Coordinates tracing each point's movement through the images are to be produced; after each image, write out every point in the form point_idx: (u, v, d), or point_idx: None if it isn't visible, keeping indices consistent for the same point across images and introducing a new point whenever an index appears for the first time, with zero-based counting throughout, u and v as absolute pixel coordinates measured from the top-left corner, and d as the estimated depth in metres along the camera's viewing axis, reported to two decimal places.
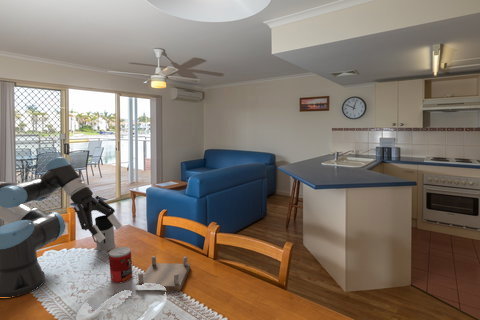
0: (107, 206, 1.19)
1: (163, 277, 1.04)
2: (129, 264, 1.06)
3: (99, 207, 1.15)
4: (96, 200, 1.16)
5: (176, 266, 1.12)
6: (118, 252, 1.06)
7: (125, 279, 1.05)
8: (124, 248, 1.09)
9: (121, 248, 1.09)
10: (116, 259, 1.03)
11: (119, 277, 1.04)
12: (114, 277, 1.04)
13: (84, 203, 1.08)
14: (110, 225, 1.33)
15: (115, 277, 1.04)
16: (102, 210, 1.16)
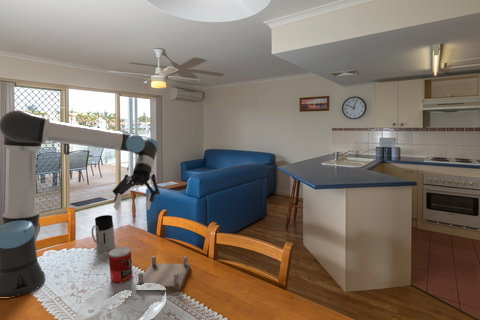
0: None
1: (163, 277, 1.04)
2: (129, 264, 1.06)
3: (132, 185, 1.24)
4: (129, 179, 1.26)
5: (176, 266, 1.12)
6: (118, 252, 1.06)
7: (125, 279, 1.05)
8: (124, 248, 1.09)
9: (121, 248, 1.09)
10: (116, 259, 1.03)
11: (118, 277, 1.04)
12: (114, 277, 1.04)
13: None
14: (110, 225, 1.33)
15: (115, 277, 1.04)
16: (127, 188, 1.23)
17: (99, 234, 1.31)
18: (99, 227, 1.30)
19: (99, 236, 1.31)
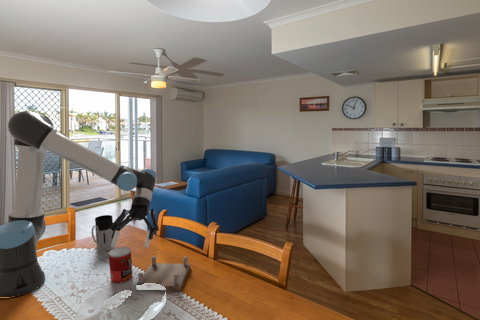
0: None
1: (163, 277, 1.04)
2: (129, 264, 1.06)
3: (129, 221, 1.20)
4: (127, 213, 1.22)
5: (176, 266, 1.12)
6: (118, 252, 1.06)
7: (125, 279, 1.05)
8: (124, 248, 1.09)
9: (121, 248, 1.09)
10: (116, 259, 1.03)
11: (119, 277, 1.04)
12: (114, 277, 1.04)
13: None
14: (110, 225, 1.33)
15: (115, 277, 1.04)
16: (125, 223, 1.18)
17: (99, 234, 1.31)
18: (99, 227, 1.30)
19: (99, 236, 1.31)
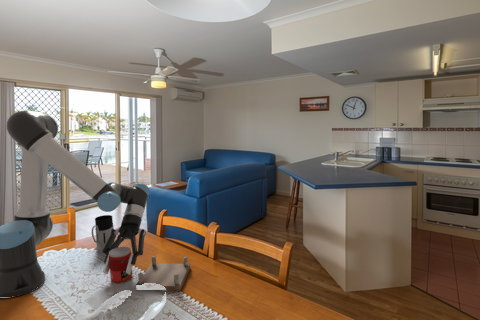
0: (111, 245, 1.12)
1: (163, 277, 1.04)
2: None
3: (121, 241, 1.12)
4: (117, 233, 1.14)
5: (176, 266, 1.12)
6: (118, 252, 1.06)
7: (125, 279, 1.05)
8: (124, 248, 1.09)
9: (121, 248, 1.09)
10: (116, 259, 1.03)
11: (118, 277, 1.04)
12: (114, 277, 1.04)
13: None
14: (110, 225, 1.33)
15: (115, 277, 1.04)
16: (117, 245, 1.11)
17: (99, 234, 1.31)
18: (99, 227, 1.30)
19: (99, 236, 1.31)
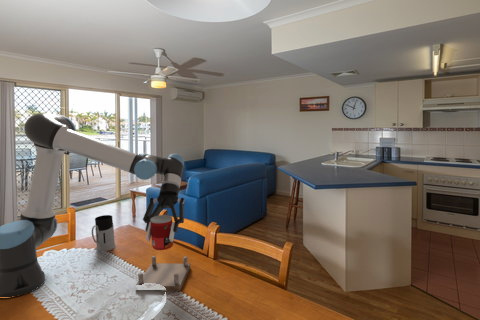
0: (150, 214, 1.09)
1: (163, 277, 1.04)
2: None
3: (160, 209, 1.10)
4: (155, 202, 1.12)
5: (176, 266, 1.12)
6: (160, 219, 1.03)
7: (167, 246, 1.02)
8: (165, 216, 1.07)
9: (161, 216, 1.07)
10: (159, 225, 1.00)
11: (161, 244, 1.01)
12: (156, 244, 1.01)
13: None
14: (110, 225, 1.33)
15: (157, 244, 1.01)
16: (157, 213, 1.08)
17: (99, 234, 1.31)
18: (99, 227, 1.30)
19: (99, 236, 1.31)
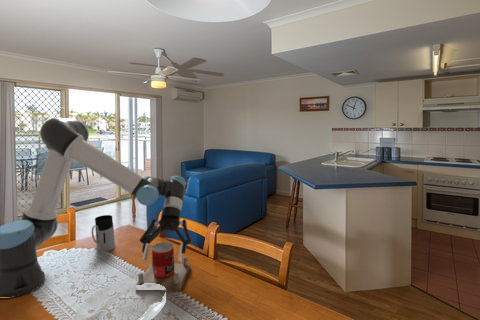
0: (149, 235, 1.11)
1: None
2: (172, 259, 1.05)
3: (160, 232, 1.11)
4: (157, 224, 1.13)
5: (176, 266, 1.12)
6: (161, 247, 1.05)
7: (169, 275, 1.04)
8: (166, 243, 1.08)
9: (163, 243, 1.08)
10: (160, 254, 1.02)
11: (162, 272, 1.02)
12: (157, 272, 1.03)
13: None
14: (110, 225, 1.33)
15: (158, 272, 1.03)
16: (155, 235, 1.10)
17: (99, 234, 1.31)
18: (99, 227, 1.30)
19: (99, 236, 1.31)
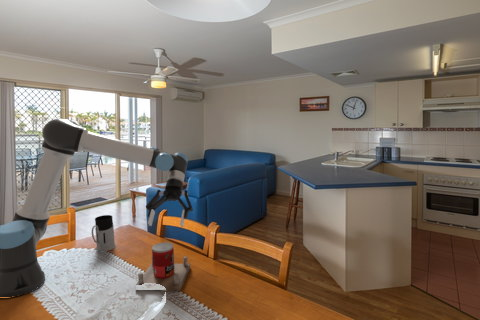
0: None
1: None
2: (172, 259, 1.05)
3: (164, 201, 1.24)
4: (161, 194, 1.26)
5: (176, 266, 1.12)
6: (161, 247, 1.05)
7: (169, 275, 1.04)
8: (166, 243, 1.08)
9: (163, 243, 1.08)
10: (160, 254, 1.02)
11: (162, 272, 1.02)
12: (157, 272, 1.03)
13: None
14: (110, 225, 1.33)
15: (158, 272, 1.03)
16: (160, 203, 1.22)
17: (99, 234, 1.31)
18: (99, 227, 1.30)
19: (99, 236, 1.31)
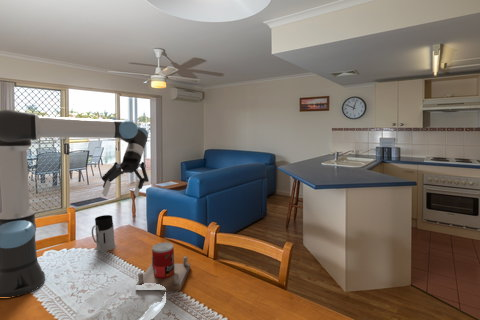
0: None
1: None
2: (172, 260, 1.05)
3: (121, 173, 1.25)
4: (119, 167, 1.27)
5: (176, 266, 1.12)
6: (161, 247, 1.05)
7: (169, 275, 1.04)
8: (166, 243, 1.08)
9: (163, 243, 1.08)
10: (160, 254, 1.02)
11: (162, 272, 1.02)
12: (157, 272, 1.03)
13: None
14: (110, 225, 1.33)
15: (158, 272, 1.03)
16: (116, 175, 1.23)
17: (99, 234, 1.31)
18: (99, 227, 1.30)
19: (99, 236, 1.31)
